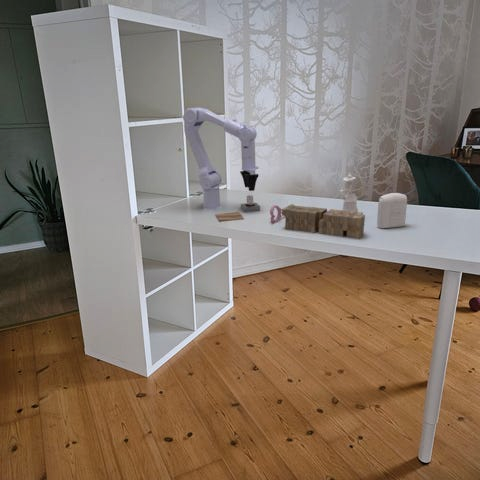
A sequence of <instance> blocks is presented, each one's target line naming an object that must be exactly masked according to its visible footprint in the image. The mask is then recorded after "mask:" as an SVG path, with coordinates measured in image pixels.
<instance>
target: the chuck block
mask: <svg viewBox="0 0 480 480" xmlns="http://www.w3.org/2000/svg"><path fill="white" fill-rule="evenodd" d="M240 209H241V211H243V213H252V212H261V205H260V204H258V203H257V202H253V206H248V207H247V203H241V204H240Z"/></svg>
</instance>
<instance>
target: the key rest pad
mask: <svg viewBox="0 0 480 480" xmlns="http://www.w3.org/2000/svg"><path fill="white" fill-rule="evenodd" d="M214 214H215V213H214ZM215 217H216V219H217V220H218V222H219V223H220V222H221V223H222V222H230V221H240V220H241V221H242V220H245V218H244V216H243V215H242V214H241V213H240V212H239V211H237V212H225V213H216V214H215Z"/></svg>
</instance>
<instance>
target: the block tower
mask: <svg viewBox="0 0 480 480" xmlns="http://www.w3.org/2000/svg"><path fill="white" fill-rule="evenodd" d="M281 209H282V211H281V212H282V213H281V216H283V217H285V219H284V220H285V221H284V222H285V223H284V227H285V228H284V229H285V230H288V231H297V232H305V233H311V234H315V233H317V232H318V234H319V235H326V236H327V235H328V236H335V237H341V238H342V237H344V236H346V238H349V239H356V240H359V239H361V238H362V237H363V236H364V231H365V219H366V214H364V212H362V211H358V212H354V211H345V210H343V209H342V210H343V211H342V210H341V209H335V208H331V209H329V210H328V208H323V207H315V206H302V205H295V204H289V205H287V206H286V207H283V208H281Z"/></svg>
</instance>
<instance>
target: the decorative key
mask: <svg viewBox="0 0 480 480" xmlns="http://www.w3.org/2000/svg"><path fill="white" fill-rule="evenodd" d="M275 209H276V210H277V215H274V210H275ZM282 209H283V208H281V207H280V206H279V205H275V204H274V205H272V206H271V207H270V210H269V215H270V222H271V223H275V224H276V223H278V222H279V221H280V219H282Z"/></svg>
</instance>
